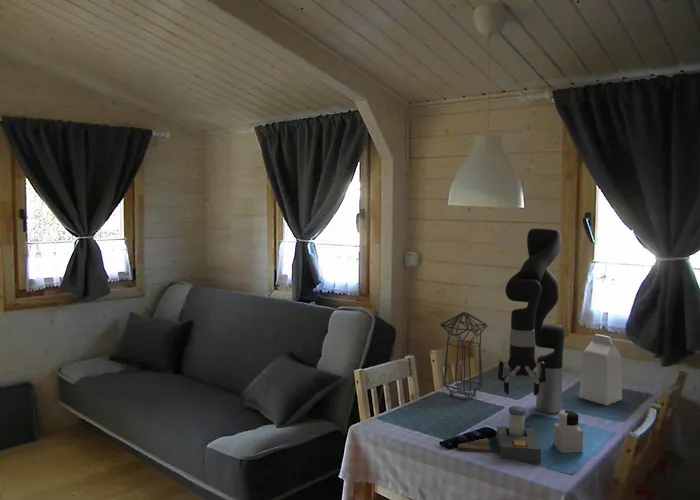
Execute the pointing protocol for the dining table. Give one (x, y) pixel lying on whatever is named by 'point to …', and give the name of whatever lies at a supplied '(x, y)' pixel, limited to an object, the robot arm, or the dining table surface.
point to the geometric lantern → (464, 352)
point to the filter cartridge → (516, 421)
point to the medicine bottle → (568, 433)
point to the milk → (601, 372)
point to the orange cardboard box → (519, 443)
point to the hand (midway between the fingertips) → (521, 394)
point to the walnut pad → (475, 445)
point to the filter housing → (518, 453)
